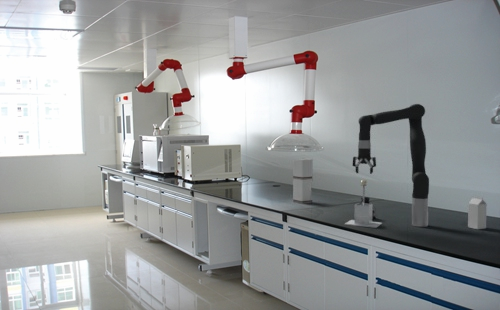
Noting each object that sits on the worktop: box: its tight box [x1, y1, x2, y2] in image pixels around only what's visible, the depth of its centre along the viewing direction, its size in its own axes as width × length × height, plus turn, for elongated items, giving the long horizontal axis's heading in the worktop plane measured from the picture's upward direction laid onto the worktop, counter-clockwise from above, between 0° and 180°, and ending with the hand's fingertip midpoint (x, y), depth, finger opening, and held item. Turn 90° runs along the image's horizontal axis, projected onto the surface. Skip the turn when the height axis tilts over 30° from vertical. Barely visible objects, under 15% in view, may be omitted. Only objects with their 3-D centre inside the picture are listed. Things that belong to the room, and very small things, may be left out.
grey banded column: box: [292, 158, 314, 205], centre depth 390 cm, size 11×11×35 cm
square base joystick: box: [353, 202, 373, 225], centre depth 304 cm, size 9×9×12 cm
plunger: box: [360, 179, 369, 206], centre depth 303 cm, size 7×7×17 cm
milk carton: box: [467, 195, 487, 230], centre depth 291 cm, size 7×7×19 cm
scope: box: [360, 196, 377, 220], centre depth 323 cm, size 8×14×10 cm
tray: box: [344, 219, 383, 229], centre depth 304 cm, size 20×14×1 cm
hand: (364, 173), depth 302 cm, fingers open, 8 cm apart
